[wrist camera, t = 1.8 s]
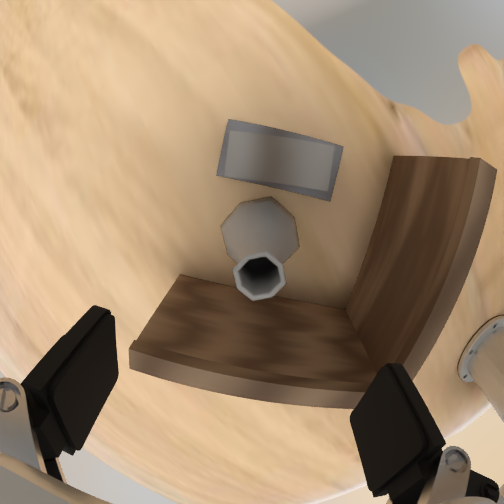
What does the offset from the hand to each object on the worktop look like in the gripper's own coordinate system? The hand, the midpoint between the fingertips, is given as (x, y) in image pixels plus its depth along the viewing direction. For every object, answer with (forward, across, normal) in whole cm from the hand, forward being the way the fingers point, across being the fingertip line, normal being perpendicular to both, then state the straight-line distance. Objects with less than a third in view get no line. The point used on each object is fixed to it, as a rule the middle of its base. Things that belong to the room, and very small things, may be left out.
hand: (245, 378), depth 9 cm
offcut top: (+17, 0, -7) cm, 18 cm away
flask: (+19, -1, 0) cm, 19 cm away
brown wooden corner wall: (+19, -3, -2) cm, 19 cm away
